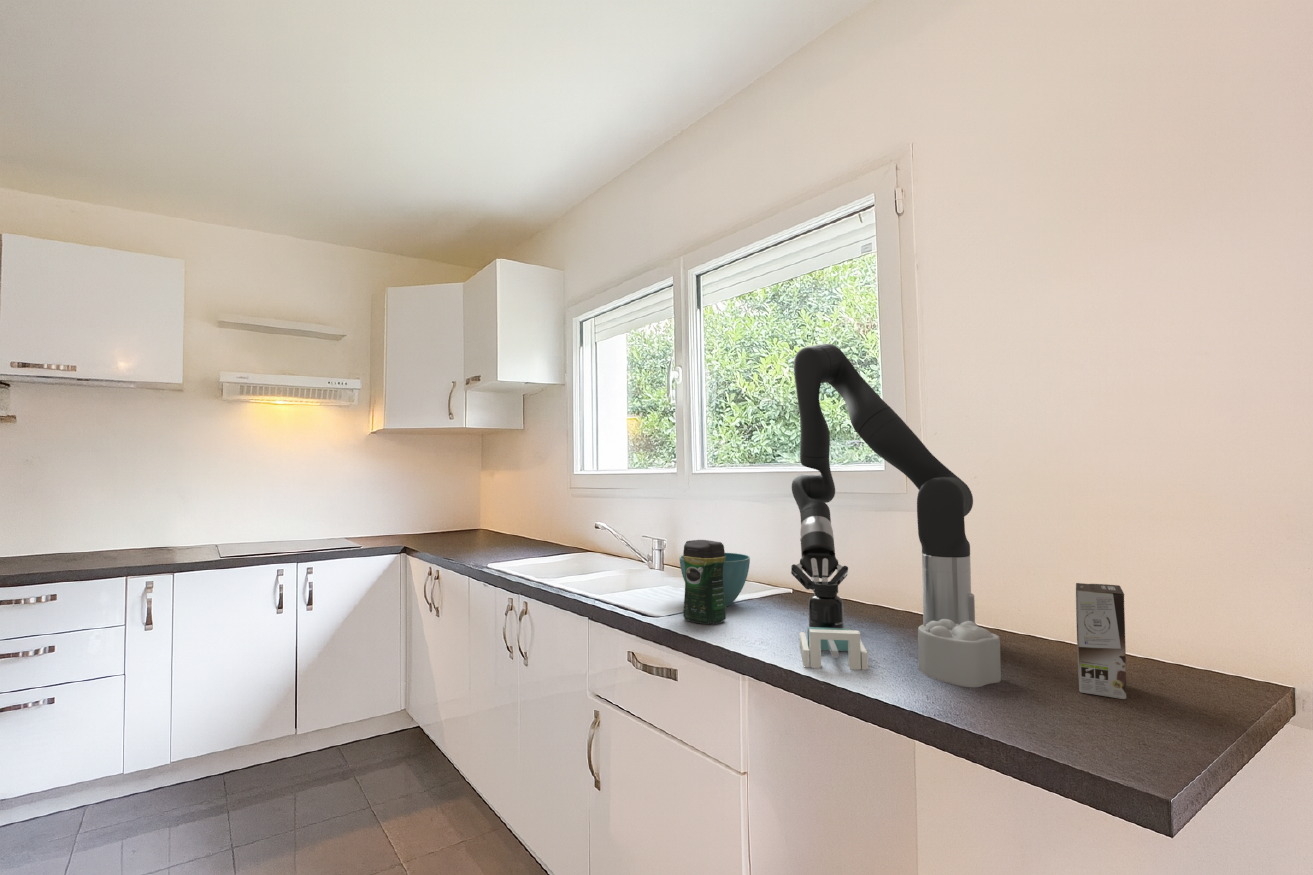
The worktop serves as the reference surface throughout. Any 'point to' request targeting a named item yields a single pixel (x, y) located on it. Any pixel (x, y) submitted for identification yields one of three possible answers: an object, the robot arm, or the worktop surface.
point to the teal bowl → (730, 574)
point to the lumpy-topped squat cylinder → (959, 653)
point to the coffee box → (1101, 640)
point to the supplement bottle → (825, 606)
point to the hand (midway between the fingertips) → (821, 604)
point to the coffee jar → (704, 581)
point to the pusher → (832, 642)
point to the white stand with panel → (855, 646)
